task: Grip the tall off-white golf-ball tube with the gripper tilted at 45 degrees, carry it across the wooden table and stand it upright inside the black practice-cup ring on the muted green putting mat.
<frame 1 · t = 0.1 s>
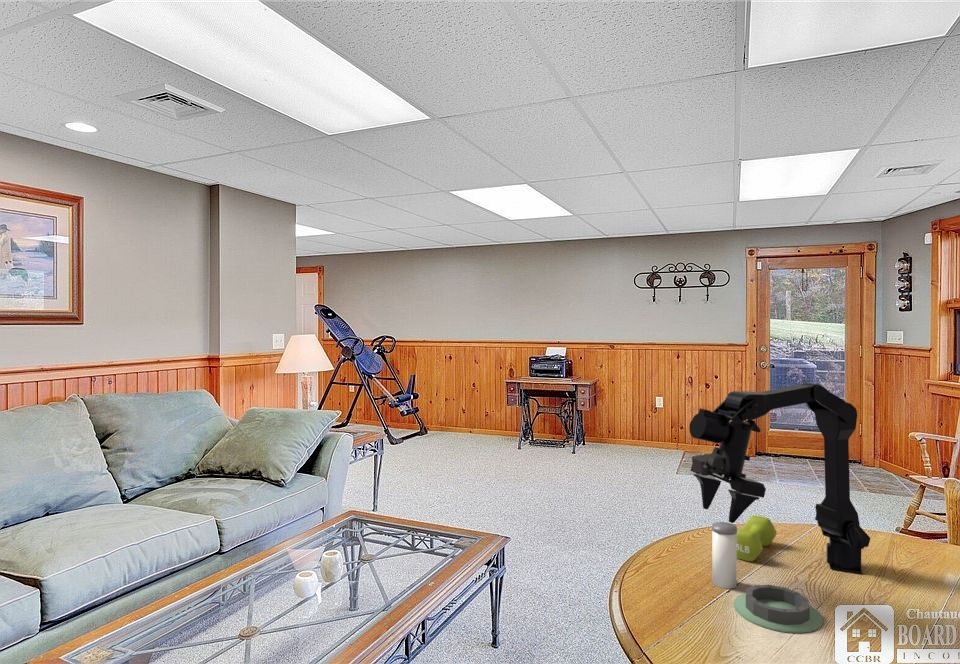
hand: (717, 515, 131), 15 cm above the table, tool pointing down, fingers open, 9 cm apart
golf tube: (724, 583, 132), on the table
putting cup: (776, 611, 119), on the table
dumbbell: (752, 552, 150), on the table
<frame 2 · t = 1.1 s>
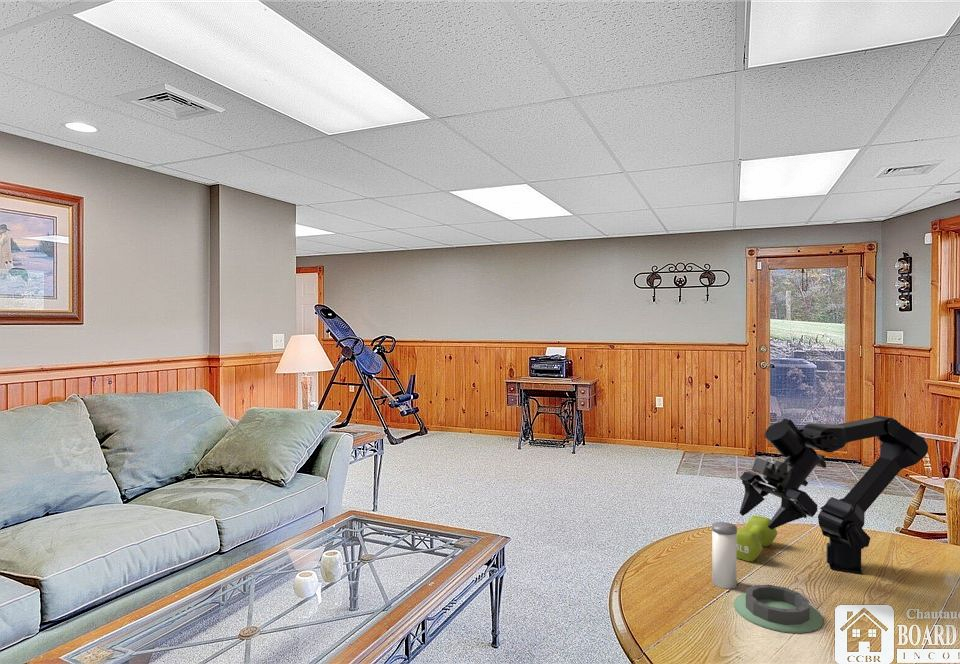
hand: (754, 520, 133), 13 cm above the table, tool tilted 45°, fingers open, 9 cm apart
nothing on the table moved.
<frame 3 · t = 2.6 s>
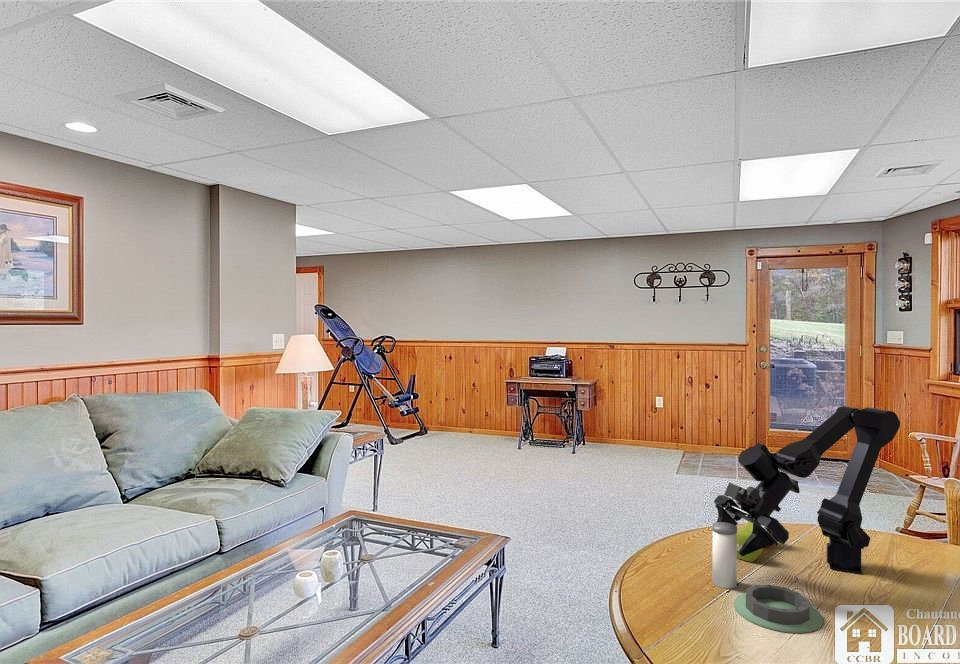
hand: (726, 546, 132), 8 cm above the table, tool tilted 45°, fingers open, 9 cm apart
nothing on the table moved.
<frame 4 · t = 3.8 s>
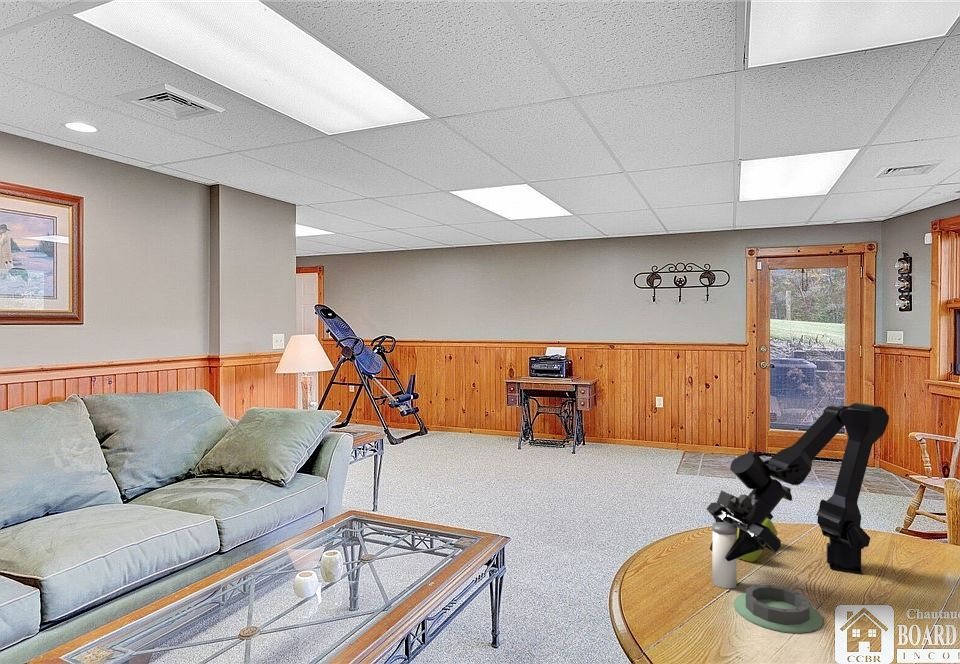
hand: (718, 555, 131), 7 cm above the table, tool tilted 45°, fingers closed on golf tube, 5 cm apart
golf tube: (724, 583, 132), on the table, touching gripper
everything else where it was.
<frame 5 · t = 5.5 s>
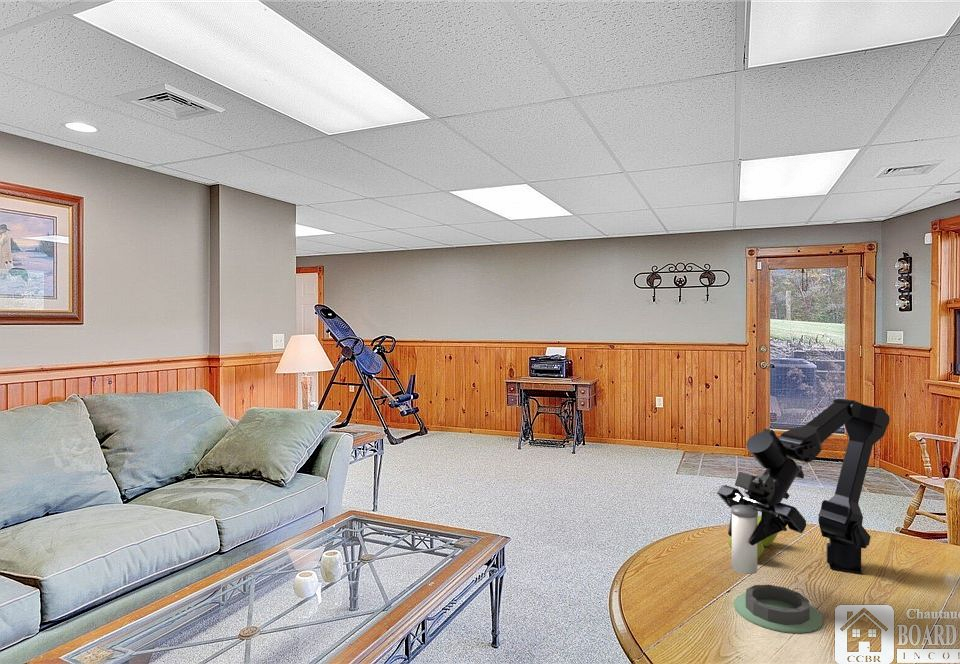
hand: (739, 539, 125), 12 cm above the table, tool tilted 45°, fingers closed on golf tube, 5 cm apart
golf tube: (744, 568, 126), point 6 cm above the table, touching gripper
everything else where it was.
when the fingers open (8 cm above the table, at t = 7.4 s): golf tube stays where it is, resting on putting cup.
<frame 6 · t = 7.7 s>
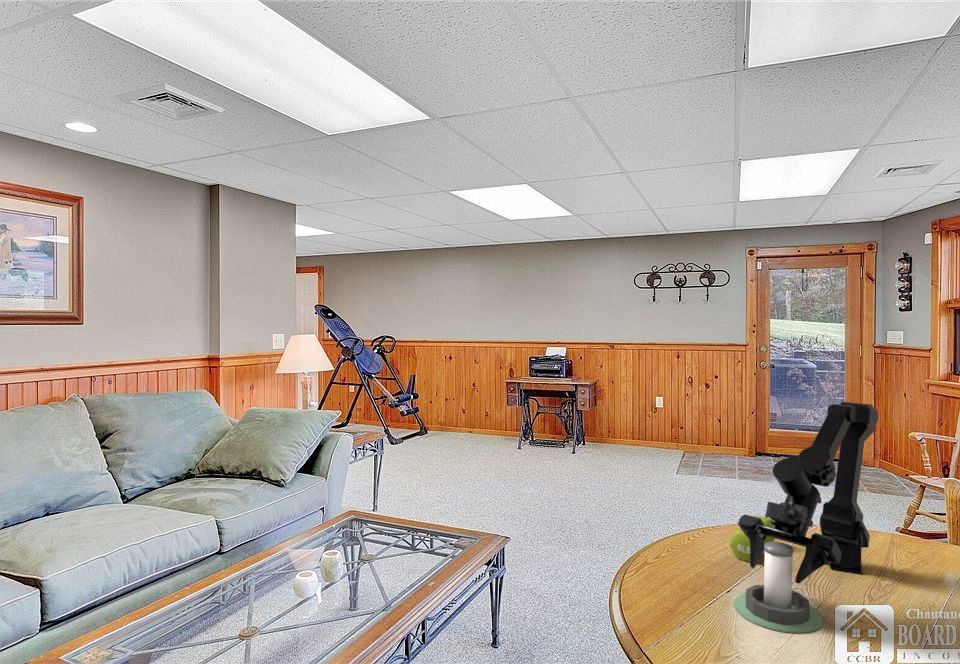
hand: (773, 574, 118), 8 cm above the table, tool tilted 45°, fingers open, 9 cm apart
golf tube: (777, 609, 119), resting on putting cup
everything else where it was.
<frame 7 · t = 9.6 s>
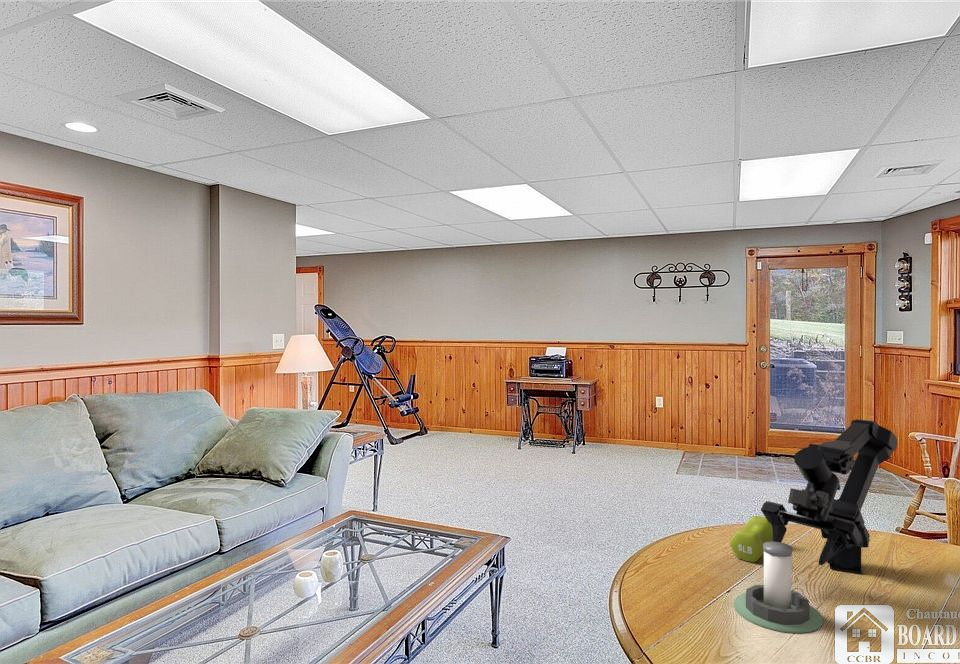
hand: (796, 557, 124), 9 cm above the table, tool tilted 45°, fingers open, 9 cm apart
nothing on the table moved.
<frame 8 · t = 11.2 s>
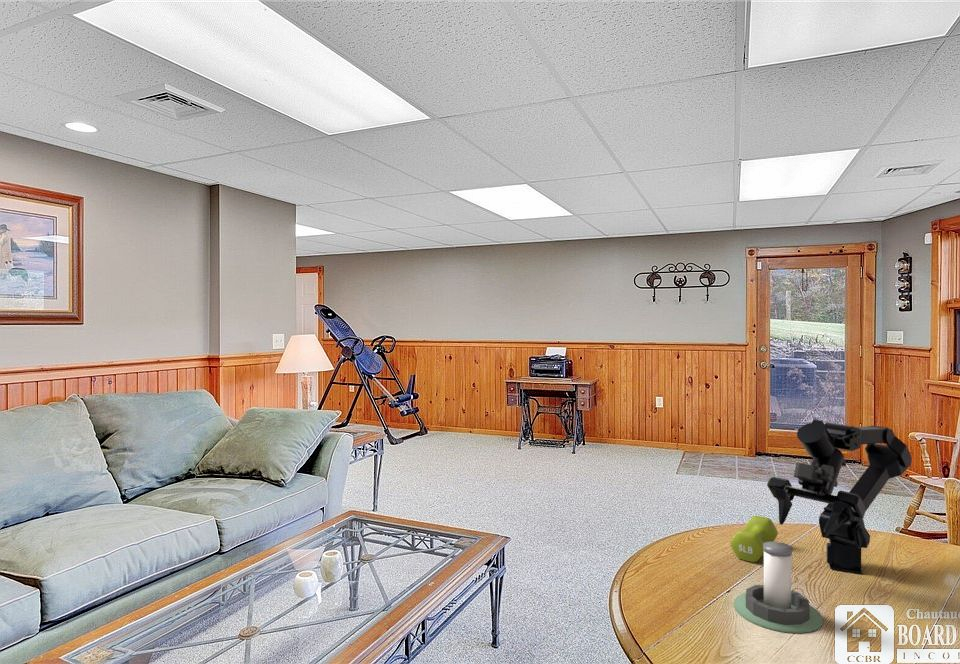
hand: (802, 529, 127), 14 cm above the table, tool tilted 45°, fingers open, 9 cm apart
nothing on the table moved.
at the end: golf tube 0.1 cm from the putting cup (horizontally); golf tube tilted 0°; the gripper is holding nothing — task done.
